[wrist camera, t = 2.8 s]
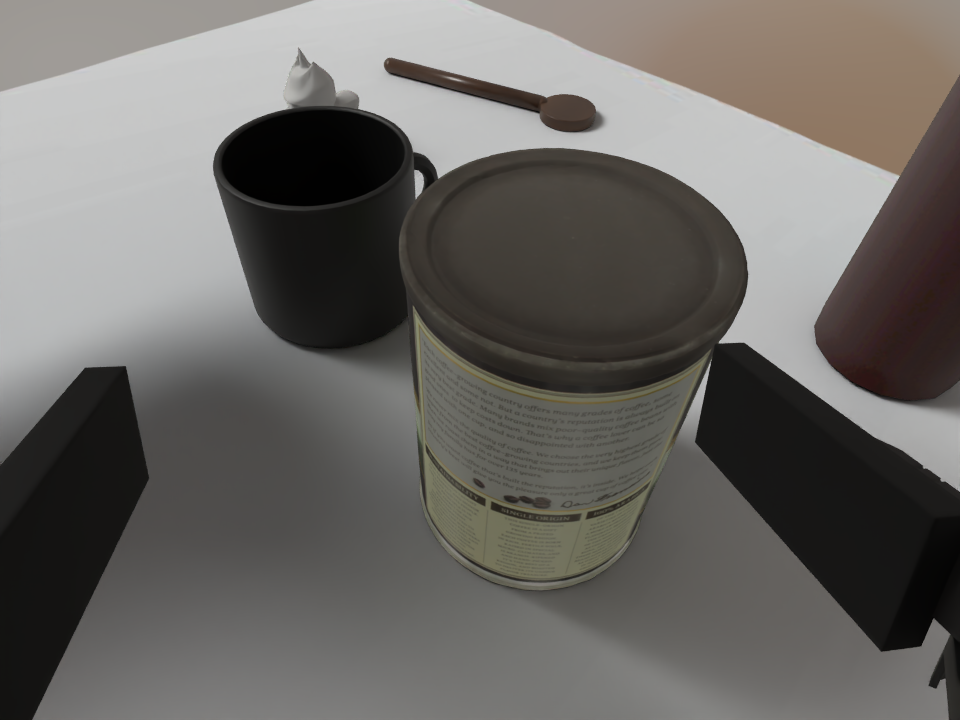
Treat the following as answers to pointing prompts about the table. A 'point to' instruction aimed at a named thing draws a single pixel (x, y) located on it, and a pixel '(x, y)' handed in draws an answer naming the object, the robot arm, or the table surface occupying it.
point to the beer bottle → (905, 279)
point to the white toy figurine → (314, 87)
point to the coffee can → (557, 351)
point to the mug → (321, 220)
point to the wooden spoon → (506, 95)
